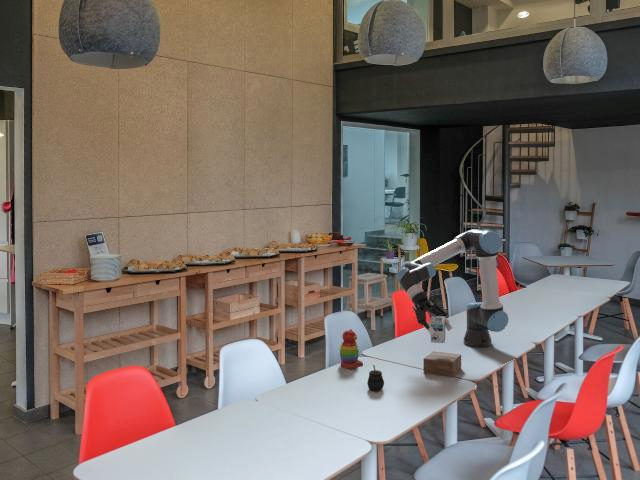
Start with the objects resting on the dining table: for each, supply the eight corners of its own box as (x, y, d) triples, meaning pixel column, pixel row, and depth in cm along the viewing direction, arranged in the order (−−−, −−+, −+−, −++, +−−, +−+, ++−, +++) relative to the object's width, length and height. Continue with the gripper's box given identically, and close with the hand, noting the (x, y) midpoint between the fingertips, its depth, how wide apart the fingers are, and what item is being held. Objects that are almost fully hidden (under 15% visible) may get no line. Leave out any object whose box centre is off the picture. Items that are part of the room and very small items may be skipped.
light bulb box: (444, 343, 286) (444, 321, 284) (430, 343, 287) (430, 320, 286) (445, 337, 296) (445, 315, 295) (431, 337, 297) (431, 315, 296)
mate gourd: (370, 393, 263) (370, 370, 262) (364, 387, 270) (364, 365, 269) (386, 391, 265) (385, 368, 264) (380, 386, 272) (379, 364, 271)
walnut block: (433, 365, 301) (433, 351, 300) (461, 368, 294) (461, 354, 293) (423, 373, 289) (423, 358, 288) (452, 377, 282) (452, 362, 281)
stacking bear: (352, 369, 296) (351, 334, 294) (335, 366, 302) (334, 331, 300) (364, 364, 304) (363, 329, 303) (347, 361, 311) (347, 326, 309)
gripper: (429, 296, 309) (453, 331, 299) (396, 303, 294) (420, 340, 284) (437, 287, 305) (462, 322, 294) (404, 294, 289) (429, 331, 279)
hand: (442, 331), depth 289 cm, fingers closed on light bulb box, 12 cm apart
